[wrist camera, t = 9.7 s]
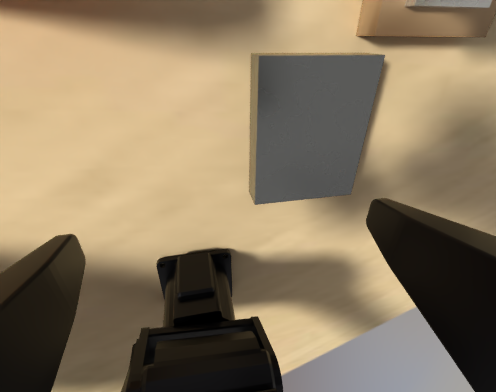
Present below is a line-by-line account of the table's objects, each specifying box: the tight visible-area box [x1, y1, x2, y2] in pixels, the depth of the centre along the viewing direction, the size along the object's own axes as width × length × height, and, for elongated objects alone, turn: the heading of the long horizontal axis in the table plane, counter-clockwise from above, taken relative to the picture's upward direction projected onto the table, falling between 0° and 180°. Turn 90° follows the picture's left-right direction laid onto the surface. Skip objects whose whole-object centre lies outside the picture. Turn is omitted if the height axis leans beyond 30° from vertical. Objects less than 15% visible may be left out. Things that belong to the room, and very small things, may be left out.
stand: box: [249, 53, 385, 205], centre depth 19 cm, size 10×8×2 cm
